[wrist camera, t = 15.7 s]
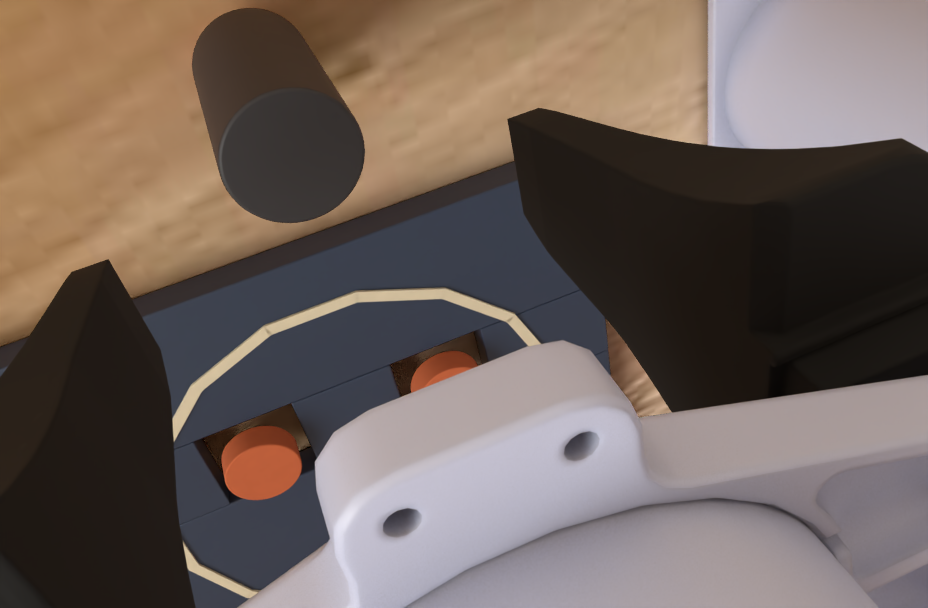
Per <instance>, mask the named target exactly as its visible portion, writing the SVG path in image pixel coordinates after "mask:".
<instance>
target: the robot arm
mask: <svg viewBox="0 0 928 608" xmlns="http://www.w3.org/2000/svg"><path fill="white" fill-rule="evenodd" d="M508 125H509V131H510V136H511V142H512V148H513V154H514V160H515V166H516V172H517V178H518V183H519V189H520V195H521V201H522V207H523V213H524V215H525V217H526V219H527V220H528V222H529V224H530V225H531V227H532V229H533V230H534V232H535V233H536V235H537V237H538V238H539V240H540V241H541V243H542V244H543V246H544V247H545V249H546V250H547V252H548V253H549V254H550V255H551V257H552V258H553V259H554V260H555V261H556V263H557V264H558V265H559V266H560V267H561V268H562V269H563V271H564V272H565V273H566V274H567V275H568V276H569V277H570V279H571V280H572V281H573V282H574V283H575V284H576V285H577V287H578V288H579V289H580V290H581V291H582V292H583V293H584V294H585V296H586V297H587V298H588V299H589V300H590V301H591V302H592V303H593V305H594V306H595V307H596V308H597V309H598V310H599V311H600V312H601V314H602V315H603V316H604V317H605V318H606V319H607V320H608V321H609V323H610V324H611V325H612V326H613V327H614V329H615V330H616V331H617V332H618V334H619V335H620V336H621V337H622V339H623V340H624V341H625V343H626V344H627V345H628V347H629V348H630V350H631V351H632V353H633V354H634V356H635V357H636V359H637V360H638V362H639V363H640V364H641V366H642V367H643V369H644V370H645V372H646V373H647V375H648V376H649V378H650V379H651V381H652V382H653V384H654V385H655V387H656V388H657V390H658V392H659V393H660V395H661V396H662V398H663V399H664V401H665V402H666V404H667V405H668V407H669V409H670V410H671V412H672V413H666V414H659V415H653V416H646V417H639V418H638V416H637V414H636V412H635V410H634V408H633V406H632V404H631V402H630V401H629V399H628V398H627V397H626V396H625V394H624V393H623V392H622V390H621V389H620V388H619V387H618V385H617V384H616V383H615V381H614V380H613V379H612V378H611V376H610V375H609V374H608V372H607V371H606V370H605V369H604V367H603V366H602V365H601V363H600V362H599V361H598V360H597V358H596V357H595V356H594V354H593V353H592V352H591V351H590V350H589V349H586V348H583V347H580V346H577V345H575V344H572V343H569V342H566V341H564V340H561V341H555V342H550V343H544V344H539V345H533V346H527V347H525V348H522V349H520V350H517V351H515V352H512V353H510V354H507V355H505V356H502V357H500V358H497V359H495V360H492V361H490V362H487V363H485V364H482V365H480V366H477V367H475V368H472V369H470V370H467V371H465V372H462V373H460V374H457V375H455V376H452V377H450V378H447V379H445V380H442V381H440V382H437V383H435V384H432V385H430V386H427V387H425V388H422V389H420V390H417V391H415V392H412V393H410V394H407V395H405V396H402V397H400V398H397V399H395V400H392V401H390V402H387V403H385V404H382V405H380V406H377V407H375V408H372V409H370V410H368V411H366V412H365V413H363V414H361V415H360V416H358V417H357V418H355V419H354V420H352V421H350V422H349V423H347V424H346V425H344V426H343V427H341V428H340V429H338V430H336V431H335V432H334V433H333V434H332V436H331V437H330V439H329V440H328V442H327V444H326V445H325V447H324V448H323V450H322V451H321V453H320V455H319V456H318V458H317V459H316V461H315V475H316V490H317V494H318V498H319V501H320V505H321V508H322V512H323V515H324V519H325V522H326V526H327V529H328V533H329V536H330V539H329V541H328V542H327V543H325V544H324V545H323V546H321V547H320V548H319V549H317V550H316V551H314V552H313V553H312V554H310V555H309V556H308V557H306V558H305V559H303V560H302V561H301V562H299V563H298V564H297V565H295V566H294V567H292V568H291V569H290V570H288V571H287V572H286V573H284V574H283V575H281V576H280V577H279V578H277V579H276V580H275V581H273V582H272V583H270V584H269V585H268V586H266V587H265V588H264V589H262V590H261V591H259V592H258V593H257V594H255V595H254V596H253V597H251V598H250V599H248V600H247V601H246V602H244V603H243V604H241V605H240V606H239V607H237V608H928V0H708V145H701V144H692V143H685V142H678V141H672V140H667V139H662V138H657V137H652V136H647V135H643V134H638V133H634V132H630V131H626V130H622V129H618V128H614V127H611V126H607V125H603V124H600V123H596V122H592V121H589V120H585V119H582V118H578V117H575V116H571V115H568V114H564V113H560V112H556V111H552V110H548V109H542V108H538V109H535V110H532V111H529V112H526V113H523V114H520V115H518V116H515V117H512V118H509V119H508ZM0 608H196V607H195V602H194V597H193V592H192V587H191V582H190V578H189V573H188V568H187V562H186V557H185V551H184V546H183V540H182V535H181V530H180V524H179V516H178V507H177V494H176V475H175V456H174V437H173V420H172V405H171V394H170V390H169V385H168V380H167V375H166V371H165V366H164V362H163V358H162V353H161V349H160V347H159V346H158V344H157V342H156V341H155V339H154V337H153V335H152V334H151V332H150V330H149V329H148V327H147V325H146V323H145V322H144V320H143V318H142V316H141V315H140V313H139V311H138V310H137V308H136V306H135V304H134V303H133V301H132V299H131V297H130V296H129V294H128V292H127V291H126V289H125V287H124V285H123V284H122V282H121V280H120V278H119V277H118V275H117V273H116V272H115V270H114V268H113V266H112V265H111V263H110V261H109V259H108V260H105V261H102V262H99V263H96V264H93V265H91V266H88V267H85V268H82V269H79V270H76V271H73V272H71V274H70V275H69V276H68V278H67V279H66V280H65V282H64V283H63V285H62V286H61V288H60V289H59V291H58V292H57V294H56V296H55V297H54V299H53V300H52V302H51V304H50V305H49V307H48V308H47V310H46V312H45V313H44V315H43V316H42V318H41V319H40V321H39V322H38V324H37V325H36V327H35V329H34V330H33V332H32V333H31V335H30V336H29V338H28V339H27V341H26V342H25V344H24V345H23V347H22V348H21V349H20V351H19V352H18V354H17V355H16V356H15V358H14V359H13V360H12V362H11V363H10V364H9V366H8V367H7V369H6V370H5V371H4V373H3V374H2V375H1V377H0Z"/></svg>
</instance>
